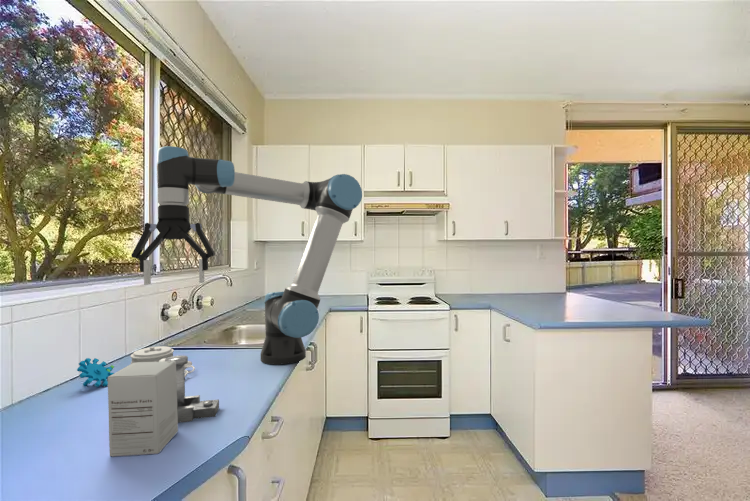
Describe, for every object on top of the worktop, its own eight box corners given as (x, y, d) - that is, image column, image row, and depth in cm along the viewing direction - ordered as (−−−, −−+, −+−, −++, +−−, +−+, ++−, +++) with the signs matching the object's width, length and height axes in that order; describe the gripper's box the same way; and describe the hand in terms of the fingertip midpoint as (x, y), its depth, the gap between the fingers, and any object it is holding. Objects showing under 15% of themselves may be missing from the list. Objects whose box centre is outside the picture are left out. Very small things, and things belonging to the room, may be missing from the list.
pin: (190, 410, 91) (189, 354, 91) (185, 419, 86) (184, 360, 86) (169, 413, 90) (168, 356, 90) (163, 421, 85) (162, 362, 85)
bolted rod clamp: (219, 405, 93) (219, 393, 93) (214, 418, 86) (214, 405, 86) (142, 413, 90) (141, 400, 90) (129, 427, 83) (129, 413, 83)
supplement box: (133, 434, 80) (132, 361, 80) (179, 431, 81) (177, 359, 80) (107, 457, 71) (105, 376, 71) (158, 454, 72) (156, 374, 71)
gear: (93, 386, 103) (73, 359, 105) (78, 402, 103) (58, 374, 105) (126, 378, 114) (106, 353, 116) (112, 392, 114) (93, 367, 116)
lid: (176, 364, 129) (176, 349, 129) (131, 371, 122) (131, 355, 122) (171, 355, 139) (171, 342, 139) (129, 362, 132) (129, 347, 132)
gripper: (224, 207, 111) (225, 280, 112) (127, 206, 106) (129, 283, 106) (220, 204, 104) (221, 283, 104) (116, 203, 99) (117, 286, 99)
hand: (175, 283), depth 105 cm, fingers open, 13 cm apart
